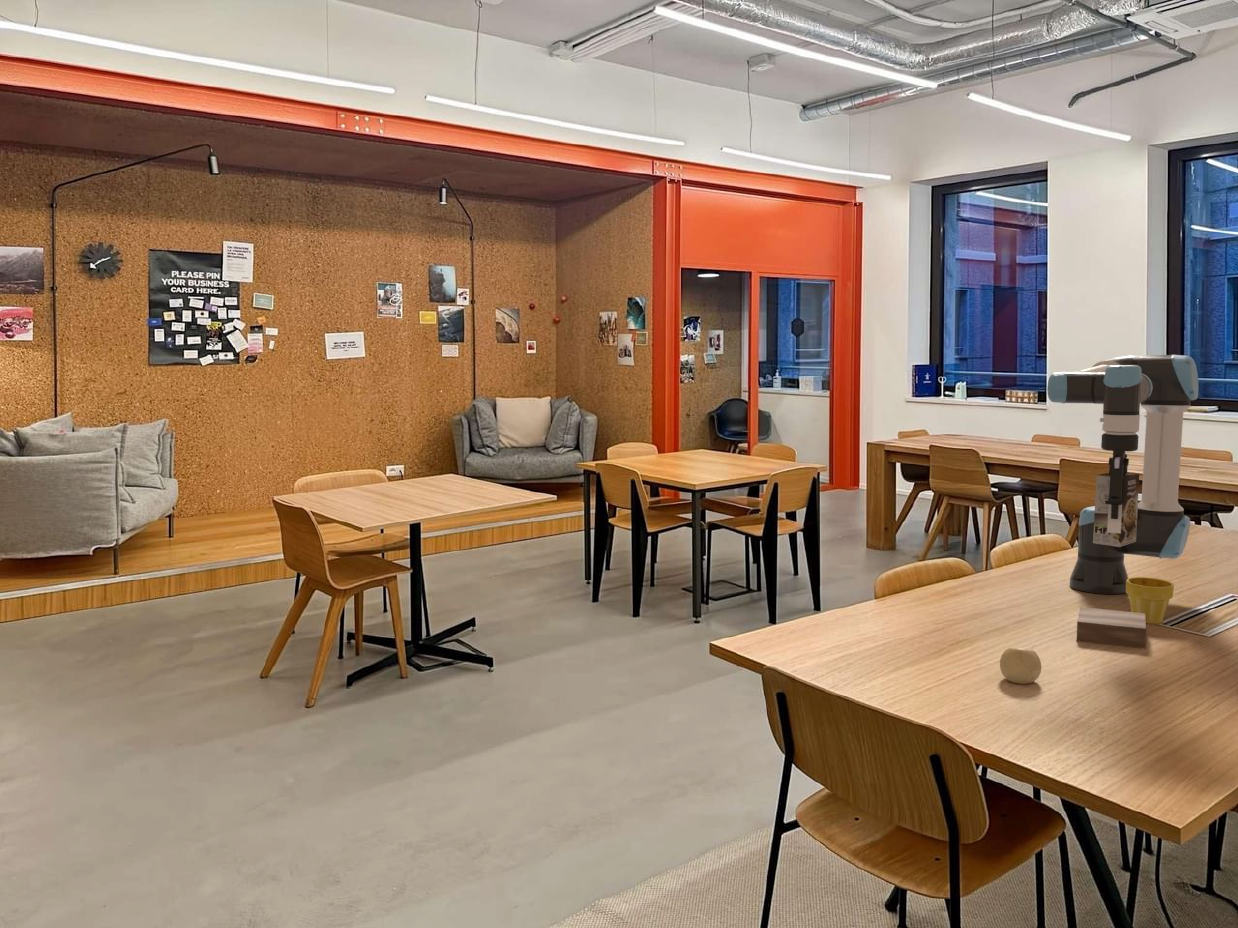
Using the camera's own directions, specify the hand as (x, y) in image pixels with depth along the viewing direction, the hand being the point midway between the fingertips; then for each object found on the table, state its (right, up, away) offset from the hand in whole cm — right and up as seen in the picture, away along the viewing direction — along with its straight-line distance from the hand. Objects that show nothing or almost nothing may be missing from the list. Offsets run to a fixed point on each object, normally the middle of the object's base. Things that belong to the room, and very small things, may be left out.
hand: (1115, 528), depth 229 cm
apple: (-33, -30, -26) cm, 51 cm away
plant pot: (+16, -24, +16) cm, 33 cm away
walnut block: (0, -26, +3) cm, 26 cm away
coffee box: (0, -4, 0) cm, 3 cm away
